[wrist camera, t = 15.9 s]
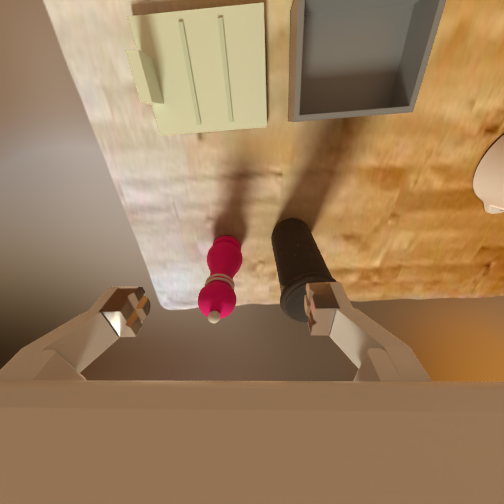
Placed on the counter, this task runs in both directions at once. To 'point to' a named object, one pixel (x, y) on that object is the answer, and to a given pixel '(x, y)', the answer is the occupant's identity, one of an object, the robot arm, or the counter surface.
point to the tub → (358, 56)
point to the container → (297, 265)
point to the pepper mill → (220, 279)
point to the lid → (201, 68)
